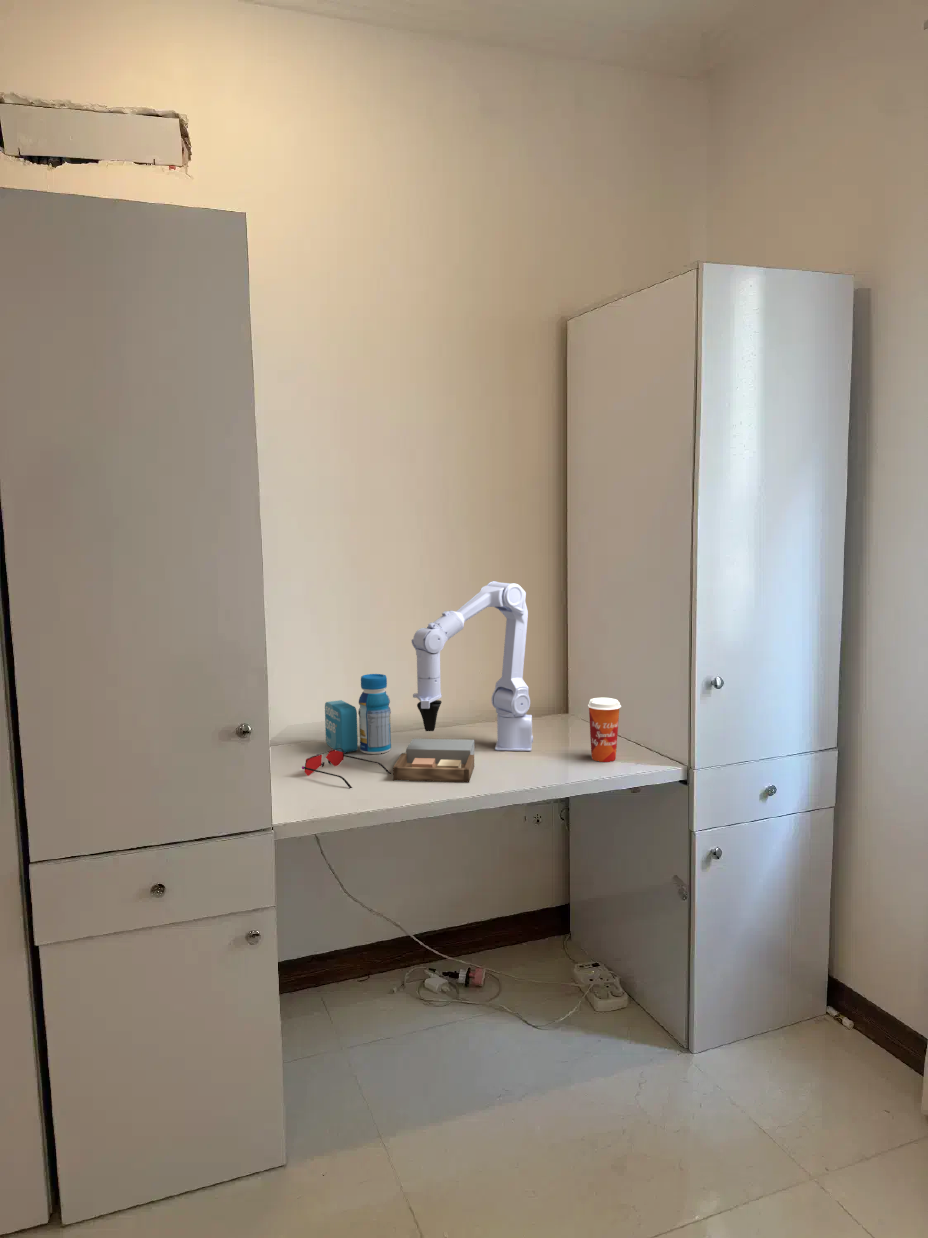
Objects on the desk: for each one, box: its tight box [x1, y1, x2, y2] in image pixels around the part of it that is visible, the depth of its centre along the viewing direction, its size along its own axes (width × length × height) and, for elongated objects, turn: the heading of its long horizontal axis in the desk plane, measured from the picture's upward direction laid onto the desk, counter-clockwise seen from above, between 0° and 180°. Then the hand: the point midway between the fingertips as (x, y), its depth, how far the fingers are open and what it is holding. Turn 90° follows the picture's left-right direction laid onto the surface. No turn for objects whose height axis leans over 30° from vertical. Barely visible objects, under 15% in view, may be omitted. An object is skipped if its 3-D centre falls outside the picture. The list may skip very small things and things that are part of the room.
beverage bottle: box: [357, 673, 392, 755], centre depth 230 cm, size 8×8×20 cm
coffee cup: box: [587, 697, 622, 763], centre depth 221 cm, size 8×8×15 cm
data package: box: [324, 699, 359, 754], centre depth 233 cm, size 12×4×12 cm, turn 30°
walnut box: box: [392, 752, 475, 783], centre depth 211 cm, size 18×12×3 cm
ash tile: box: [437, 760, 461, 768], centre depth 211 cm, size 5×5×2 cm
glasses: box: [301, 748, 392, 789], centre depth 210 cm, size 14×16×5 cm
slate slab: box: [405, 738, 475, 764], centre depth 222 cm, size 16×10×4 cm, turn 84°
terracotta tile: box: [412, 758, 435, 768], centre depth 212 cm, size 5×5×2 cm
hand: (429, 730), depth 218 cm, fingers closed
